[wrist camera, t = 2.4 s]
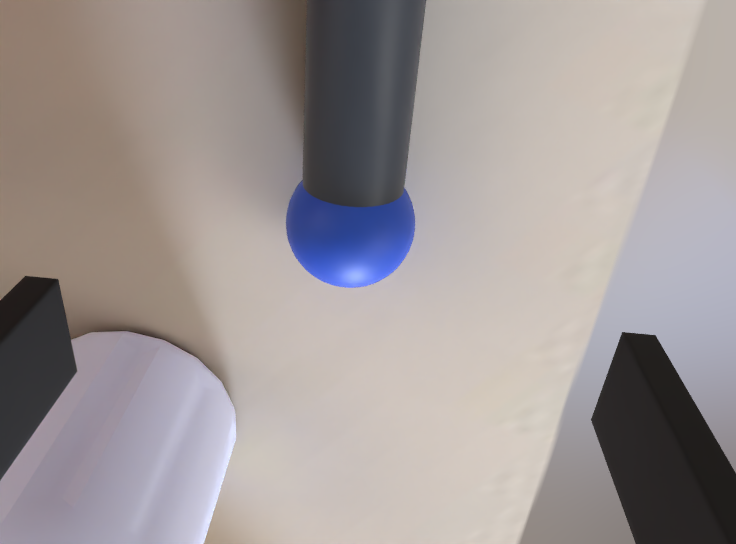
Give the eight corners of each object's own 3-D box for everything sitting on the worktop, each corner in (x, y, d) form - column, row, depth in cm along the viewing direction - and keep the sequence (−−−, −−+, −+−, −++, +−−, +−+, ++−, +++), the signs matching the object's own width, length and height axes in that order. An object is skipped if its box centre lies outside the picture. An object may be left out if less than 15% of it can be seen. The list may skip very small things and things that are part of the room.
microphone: (305, -281, 15) (275, -335, 12) (472, -265, 15) (494, -315, 12) (295, 243, 23) (275, 306, 20) (407, 253, 23) (407, 318, 20)
